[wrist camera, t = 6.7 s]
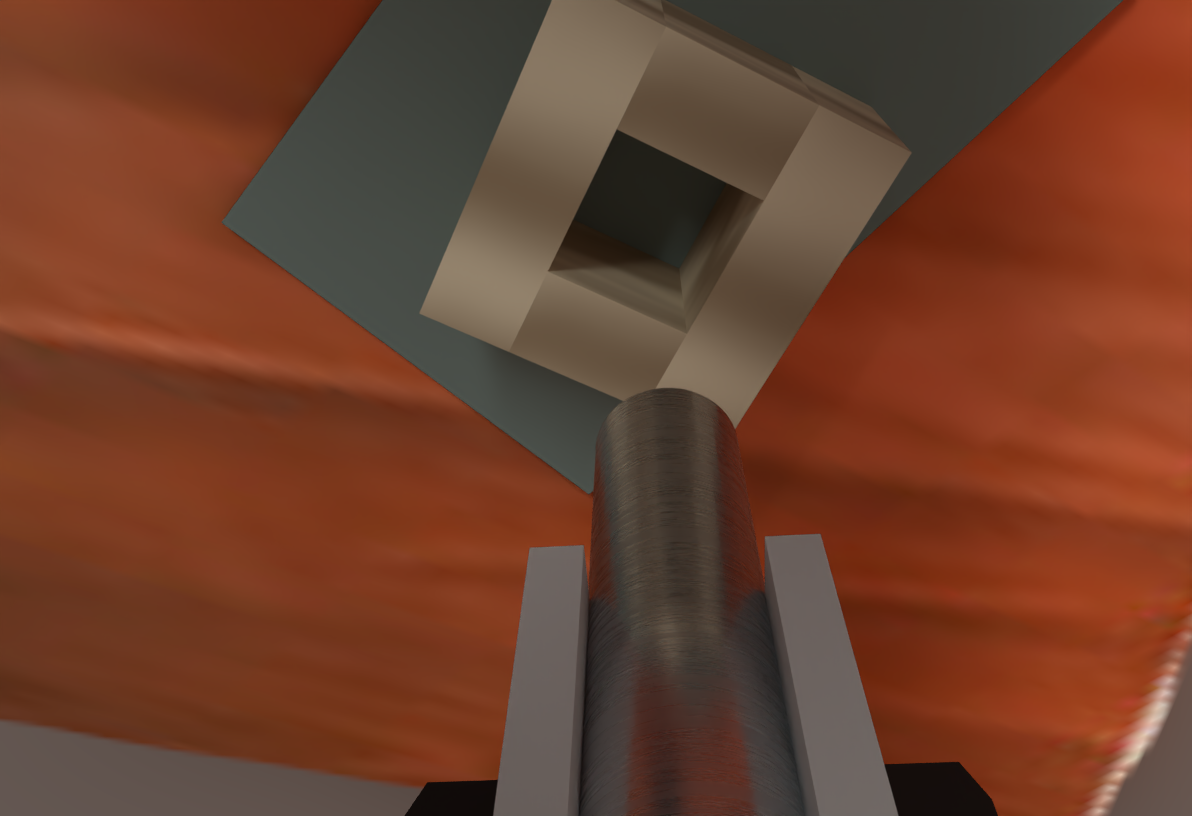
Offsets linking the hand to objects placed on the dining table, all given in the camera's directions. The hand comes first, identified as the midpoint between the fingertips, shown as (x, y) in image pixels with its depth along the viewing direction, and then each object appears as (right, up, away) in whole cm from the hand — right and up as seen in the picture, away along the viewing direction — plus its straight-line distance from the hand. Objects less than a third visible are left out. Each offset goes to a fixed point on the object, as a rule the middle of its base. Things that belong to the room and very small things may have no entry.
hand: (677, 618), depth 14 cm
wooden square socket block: (+1, +10, +18) cm, 20 cm away
